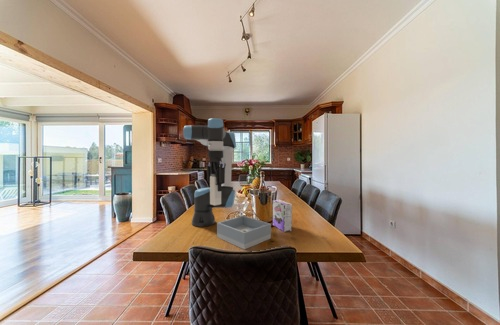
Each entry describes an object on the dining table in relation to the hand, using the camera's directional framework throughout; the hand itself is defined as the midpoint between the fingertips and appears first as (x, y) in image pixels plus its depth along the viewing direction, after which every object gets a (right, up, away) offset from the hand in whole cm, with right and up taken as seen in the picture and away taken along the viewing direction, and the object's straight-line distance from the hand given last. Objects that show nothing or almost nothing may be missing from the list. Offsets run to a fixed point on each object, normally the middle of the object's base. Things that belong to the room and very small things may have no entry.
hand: (215, 196), depth 107 cm
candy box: (+37, -24, +27) cm, 52 cm away
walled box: (+14, -24, +11) cm, 30 cm away
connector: (0, -4, 0) cm, 4 cm away
